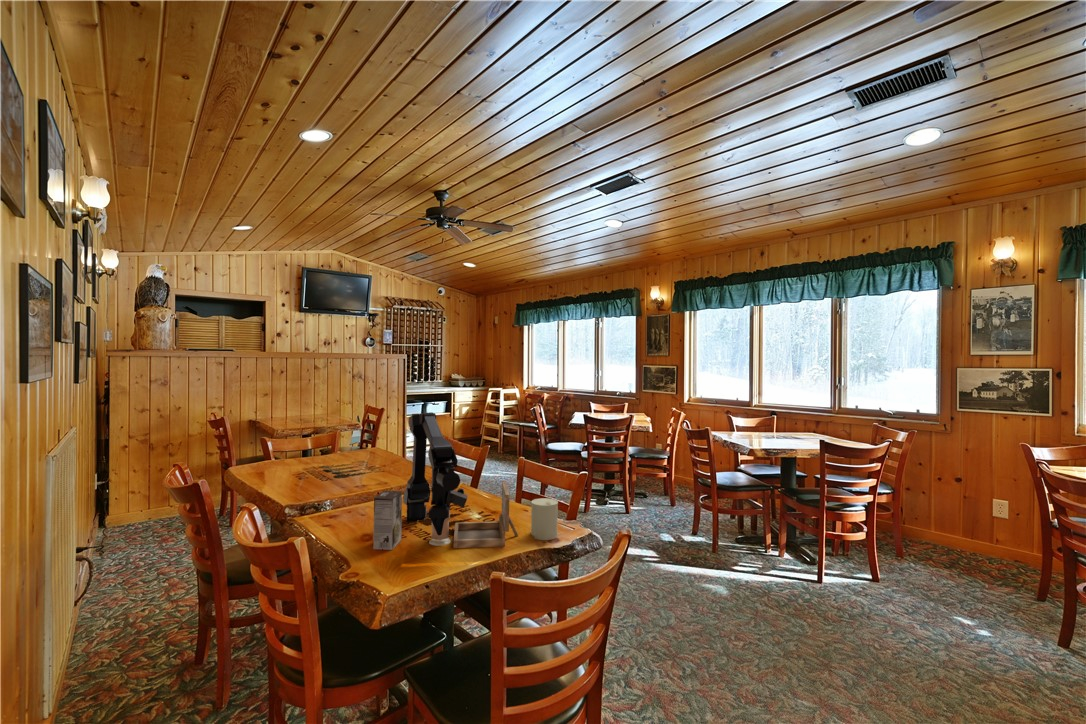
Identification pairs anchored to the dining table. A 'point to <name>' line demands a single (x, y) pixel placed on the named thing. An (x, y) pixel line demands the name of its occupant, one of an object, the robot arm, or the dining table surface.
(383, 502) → the coffee box
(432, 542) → the saucer
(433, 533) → the terracotta pot
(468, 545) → the open wooden box
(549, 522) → the can
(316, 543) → the dining table surface
